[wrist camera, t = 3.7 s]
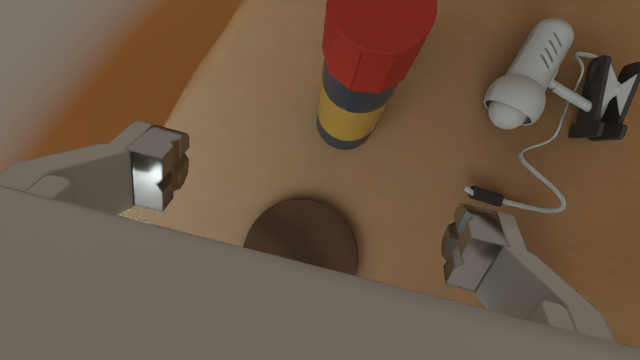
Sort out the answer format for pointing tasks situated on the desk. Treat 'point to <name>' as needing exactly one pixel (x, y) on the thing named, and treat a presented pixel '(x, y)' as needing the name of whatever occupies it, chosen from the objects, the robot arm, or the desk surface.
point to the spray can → (347, 112)
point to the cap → (374, 40)
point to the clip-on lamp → (529, 95)
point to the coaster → (305, 235)
